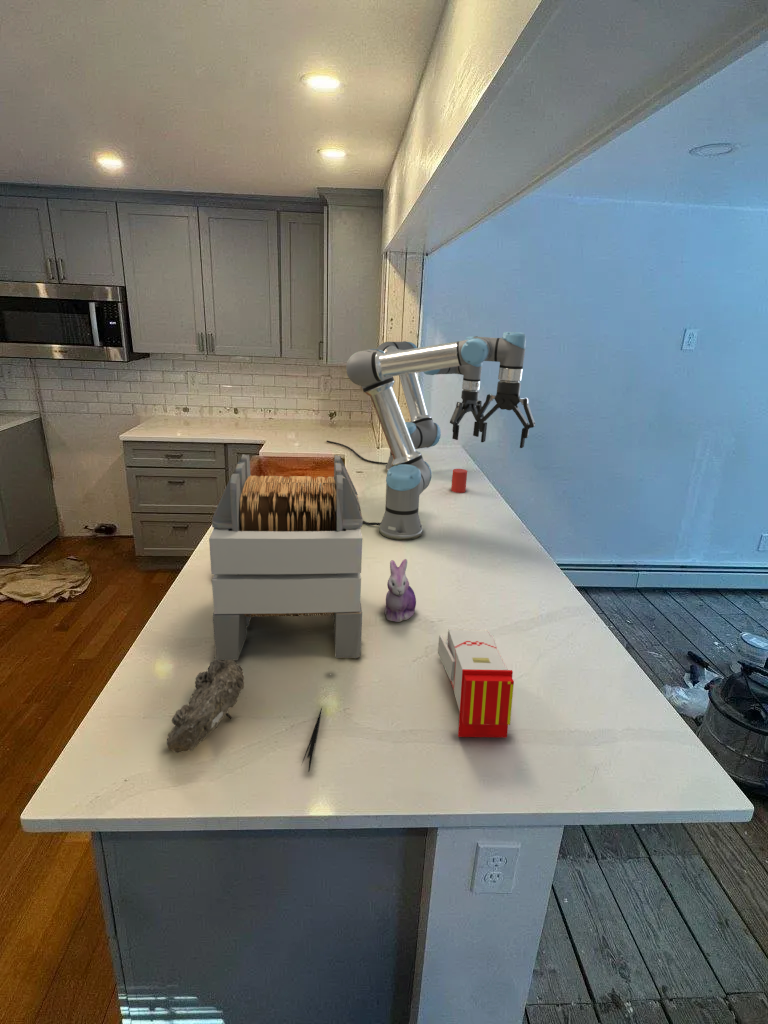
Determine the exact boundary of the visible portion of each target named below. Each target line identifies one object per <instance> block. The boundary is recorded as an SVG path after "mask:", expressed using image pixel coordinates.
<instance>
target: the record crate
mask: <svg viewBox="0 0 768 1024" xmlns="http://www.w3.org/2000/svg"><path fill="white" fill-rule="evenodd" d="M333 460H334V461H333V469H334V470H333V476H327V477H325V476H321V475H319V476H314V477H313V476H311V475H309V476H307V475H290V476H283V475H279V476H278V475H265V476H264V475H259V476H258V475H251V459H250V454H243V453H242V454H241V456H240V459H239V461H238V462H237V464H236V466H235V469H234V471H233V473H232V474H231V475H230V478H229V479H228V482H227V484H226V486H225V489H224V491H223V493H222V496H221V498H220V500H219V502H218V504H217V507H216V508H215V511H214V513H213V516H212V518H211V527H212V528H213V529H212V531H211V534H210V535H209V538H208V543H209V559H210V574H211V575H213V576H212V579H211V587H212V588H211V589H212V600H213V601H212V603H213V612H212V629H213V630H212V631H213V640H214V649H215V657H214V660H217V661H224V660H227V659H228V660H231V659H232V660H234V661H238V660H239V658H240V654H241V653H242V649H243V647H244V645H245V642H246V640H247V636H248V632H247V630H248V629H247V627H249V626H250V624H251V623H250V622H251V618H253V617H254V618H255V617H258V618H259V617H264V618H265V617H267V618H268V617H292V616H293V617H308V616H310V617H311V616H333V618H332V619H333V626H334V627H333V636H334V638H333V639H334V640H333V641H334V658H337V659H342V658H344V659H345V658H347V659H349V658H352V659H358V658H359V657H361V656H362V633H363V632H362V631H363V630H362V629H363V611H362V603H361V590H362V576H361V574H362V563H363V562H362V561H363V534H362V529H361V528H362V527H363V525H364V524H363V521H364V519H363V515H362V509H361V505H360V499H359V494H358V492H357V489H356V487H355V485H354V483H353V481H352V478H351V477H350V474H349V472H348V470H347V468H346V466H345V463H344V461H343V459H342V456H341V455H336V454H334V458H333Z"/></svg>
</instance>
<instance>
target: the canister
mask: <svg viewBox="0 0 768 1024" xmlns="http://www.w3.org/2000/svg"><path fill="white" fill-rule="evenodd" d="M467 481H468V470H467V469H463V468H454V469H452V475H451V487H450V491H451V492H452V493H455V494H463V493H465V492H466V491H467V490H466V489H467Z"/></svg>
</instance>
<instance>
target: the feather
mask: <svg viewBox="0 0 768 1024" xmlns="http://www.w3.org/2000/svg"><path fill="white" fill-rule="evenodd" d="M329 675H330V676H331V675H332V674H331V673H330V674H329ZM322 710H323V707H321V708H320V710H319V713H318V716H317V719H316V723H315V725H314V728H313V731H312V733H311V737H310V739H309V742H308V745H307V748H306V751H305V754H304V757H303V760H302V763H301V767H302V765H303V763H304V761H305V758H308V759H309V760H308V762H307V763H308V764H307V766H308V771H310V770H311V766H312V765H311V764H312V760H313V757H315V756H314V755H315V751H316V749H315V746H317V739H318V733H319V729H320V722H321V717H322V712H323V711H322ZM313 754H314V755H313ZM306 755H307V757H306Z"/></svg>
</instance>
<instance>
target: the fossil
mask: <svg viewBox="0 0 768 1024" xmlns="http://www.w3.org/2000/svg"><path fill="white" fill-rule="evenodd" d="M243 670H244V669H243V667H242V665H240V664H237V662H236V660H232V659H231V660H228V659H227V660H221V661H217V660H215V659H212V660H211V661H210V663H209V665H208V666H207V671H201V672H199V673H198V674H197V675H196V676H195V680H194V684H195V685H194V687H195V689H194V690H193V693H192V694H191V697H190V698H189V700H188V704H184V705H182V706H181V707H180V709H177V710H176V711H175V713H174V715H173V716H172V718H171V723H172V724H173V727H172V730H171V731H170V732H168V734H167V738H166V741H167V742H166V745H167V749H168V750H169V751H173V752H174V753H176V754H178V753H182V752H188V751H189V752H192V751H193V750H195V748H196V747H197V746H199V744H200V743H201V742H203V741H204V740H205V739H206V738H207V737H208V736H209V735H210V734H211V733H212V732H214V730H215V729H217V727H218V726H219V724H220V722H221V721H222V720H223V719H224V718H225V716H226V717H227V719H229V720H233V717H232V715H230V714H229V710H230V709H231V708H234V706H235V704H236V703H237V702H238V699H239V697H240V695H241V693H242V691H243V690H245V689H244V688H245V675H244V671H243Z"/></svg>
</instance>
